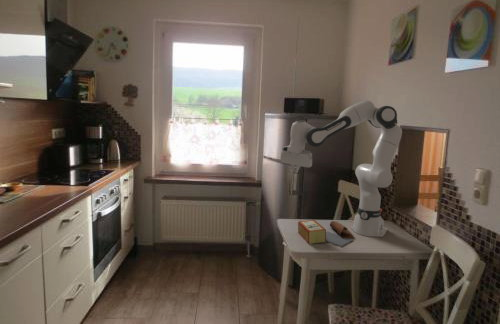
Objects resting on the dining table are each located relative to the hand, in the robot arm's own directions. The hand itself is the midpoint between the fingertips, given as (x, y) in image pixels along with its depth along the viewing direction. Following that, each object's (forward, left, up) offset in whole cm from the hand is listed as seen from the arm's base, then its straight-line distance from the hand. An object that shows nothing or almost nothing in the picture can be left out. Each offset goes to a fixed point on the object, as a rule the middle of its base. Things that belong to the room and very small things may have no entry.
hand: (295, 172), depth 194 cm
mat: (+1, +29, -31) cm, 43 cm away
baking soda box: (+5, +14, -28) cm, 31 cm away
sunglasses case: (-11, +27, -31) cm, 43 cm away
